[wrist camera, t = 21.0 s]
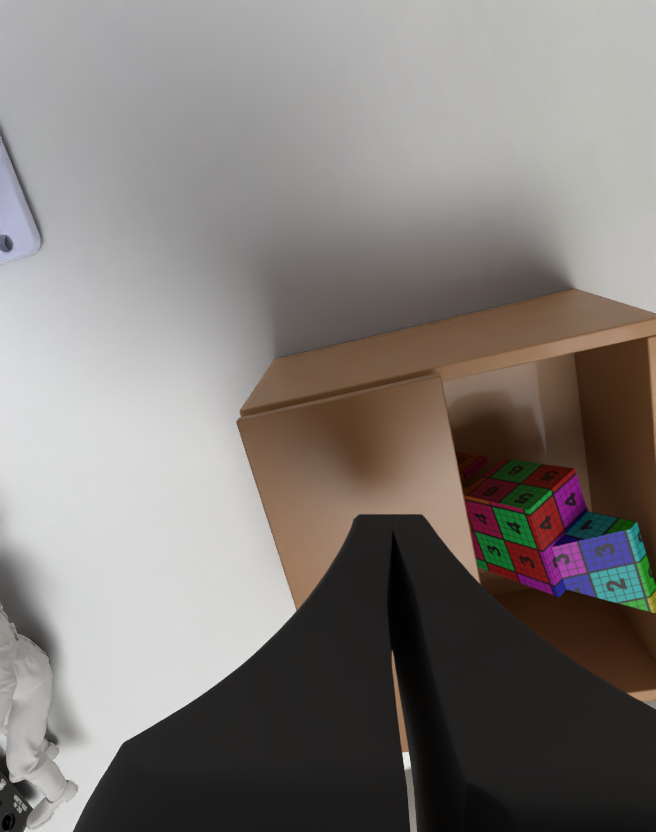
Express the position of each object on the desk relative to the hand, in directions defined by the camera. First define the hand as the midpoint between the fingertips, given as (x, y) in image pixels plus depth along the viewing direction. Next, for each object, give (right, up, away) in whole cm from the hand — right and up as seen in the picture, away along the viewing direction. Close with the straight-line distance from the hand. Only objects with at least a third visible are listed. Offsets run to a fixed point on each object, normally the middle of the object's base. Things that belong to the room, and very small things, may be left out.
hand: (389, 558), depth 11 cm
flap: (0, -2, +3) cm, 4 cm away
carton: (+3, +1, +8) cm, 9 cm away
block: (+5, 0, +6) cm, 8 cm away
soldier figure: (-14, -7, +13) cm, 20 cm away
